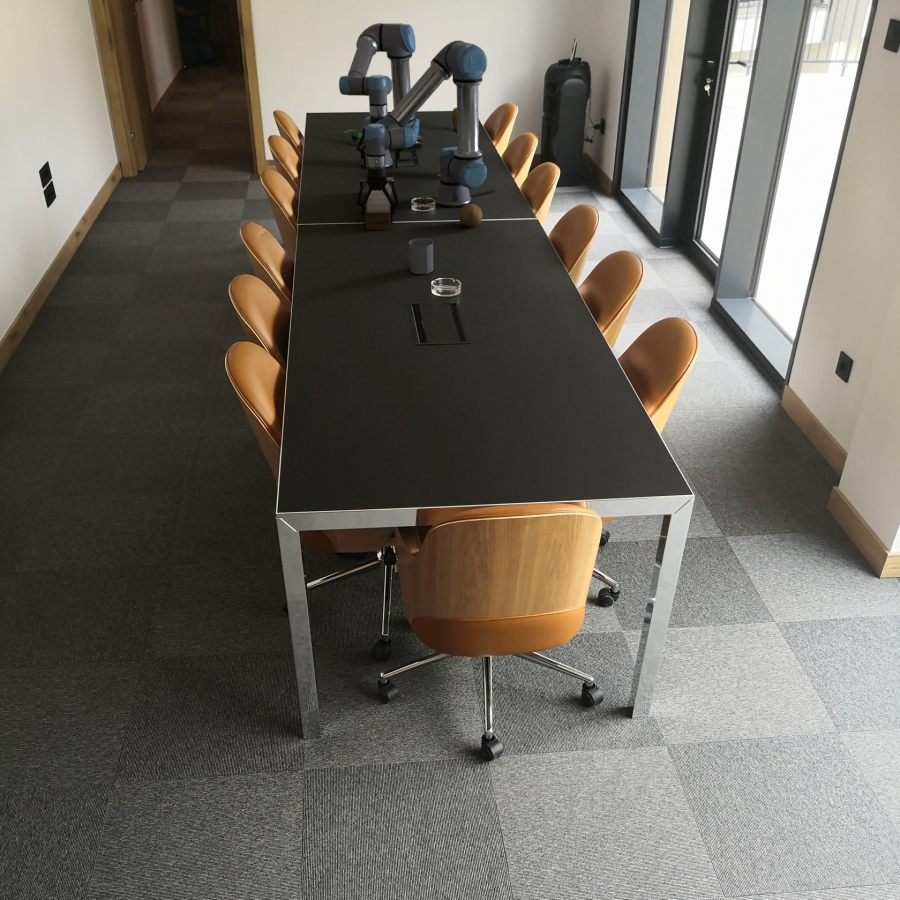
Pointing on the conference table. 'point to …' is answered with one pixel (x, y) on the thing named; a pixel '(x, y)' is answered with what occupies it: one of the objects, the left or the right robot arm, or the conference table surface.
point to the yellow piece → (454, 118)
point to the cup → (421, 256)
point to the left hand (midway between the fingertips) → (380, 167)
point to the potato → (470, 215)
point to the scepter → (354, 136)
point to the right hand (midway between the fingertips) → (378, 222)
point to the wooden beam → (378, 209)
